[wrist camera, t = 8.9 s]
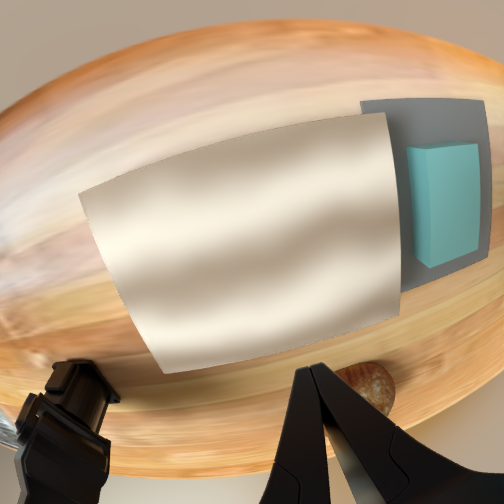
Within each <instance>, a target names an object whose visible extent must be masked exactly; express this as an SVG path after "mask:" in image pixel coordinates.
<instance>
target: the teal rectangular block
mask: <svg viewBox="0 0 504 504" xmlns="http://www.w3.org/2000/svg"><path fill="white" fill-rule="evenodd" d="M406 152H407V159H408V167H409V176H410V186H411V198H412V215H413V256H414V257H416V258H417V259H418V260H420V261H421V262H422V263H423V264H425V265H426V266H427V267H428V268H432V267H435V266H437V265H440V264H443V263H445V262H448V261H450V260H453V259H455V258H458V257H460V256H463V255H465V254H468V253H470V252H472V251H475V250H477V249H478V242H479V228H480V166H479V152H478V144H475V143H469V142H461V141H453V142H442V143H433V144H424V145H416V146H409V147H406Z"/></svg>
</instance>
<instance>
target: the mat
mask: <svg viewBox="0 0 504 504" xmlns="http://www.w3.org/2000/svg"><path fill="white" fill-rule="evenodd" d="M360 105H361V109H362V113H363V114H371V113H381V112H385V115H386V120H387V125H388V130H389V136H390V142H391V148H392V154H393V161H394V168H395V176H396V185H397V195H398V207H399V221H400V244H401V287H400V293H402V292H405V291H407V290H410V289H413V288H415V287H418V286H421V285H423V284H426V283H428V282H431V281H434V280H436V279H439V278H441V277H443V276H446V275H448V274H451V273H453V272H455V271H458V270H460V269H462V268H465V267H467V266H469V265H472V264H474V263H476V262H478V261H480V260H483V259H485V258H487V257H488V250H489V240H490V229H491V211H492V172H491V154H490V143H489V134H488V126H487V119H486V112H485V107H484V101H481V100H469V99H449V98H404V99H384V100H370V101H360ZM453 141H461V142H469V143H475V144H478V152H479V166H480V228H479V242H478V249H477V250H475V251H472V252H470V253H468V254H465V255H463V256H460V257H458V258H455V259H453V260H450V261H448V262H445V263H443V264H440V265H437V266H435V267H432V268H428V267H427V266H426V265H425V264H423V263H422V262H421V261H420V260H418V259H417V258H416V257H414V256H413V215H412V198H411V186H410V176H409V167H408V159H407V152H406V147H409V146H416V145H424V144H433V143H442V142H453Z"/></svg>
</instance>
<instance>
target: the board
mask: <svg viewBox="0 0 504 504" xmlns="http://www.w3.org/2000/svg"><path fill="white" fill-rule="evenodd" d="M78 195H79V198H80V201H81V204H82V207H83V210H84V213H85V215H86V218H87V221H88V224H89V226H90V229H91V231H92V234H93V236H94V239H95V241H96V244H97V246H98V249H99V251H100V254H101V256H102V258H103V260H104V263H105V265H106V267H107V269H108V272H109V274H110V276H111V278H112V280H113V282H114V285H115V287H116V289H117V291H118V293H119V295H120V297H121V299H122V301H123V303H124V305H125V307H126V309H127V311H128V313H129V314H130V316H131V318H132V320H133V322H134V324H135V326H136V327H137V329H138V331H139V333H140V335H141V336H142V338H143V340H144V342H145V343H146V345H147V347H148V348H149V350H150V352H151V353H152V355H153V357H154V358H155V360H156V362H157V363H158V365H159V366H160V368H161V370H162V371H163V373H164V374H168V373H175V372H182V371H189V370H196V369H202V368H208V367H213V366H219V365H224V364H229V363H235V362H239V361H244V360H249V359H254V358H258V357H263V356H267V355H271V354H275V353H279V352H284V351H288V350H291V349H295V348H299V347H303V346H306V345H310V344H314V343H317V342H321V341H324V340H328V339H331V338H334V337H337V336H341V335H344V334H347V333H350V332H353V331H356V330H359V329H362V328H365V327H368V326H371V325H374V324H377V323H380V322H382V321H385V320H388V319H391V318H393V317H396V316H399V310H400V287H401V244H400V221H399V207H398V195H397V185H396V176H395V168H394V161H393V154H392V148H391V142H390V136H389V130H388V125H387V120H386V115H385V112H381V113H371V114H362V115H353V116H345V117H338V118H331V119H325V120H319V121H313V122H307V123H301V124H296V125H291V126H286V127H281V128H276V129H271V130H267V131H262V132H258V133H254V134H250V135H246V136H242V137H238V138H234V139H230V140H226V141H222V142H219V143H215V144H212V145H208V146H205V147H201V148H198V149H195V150H192V151H188V152H185V153H182V154H179V155H176V156H173V157H170V158H167V159H164V160H161V161H158V162H155V163H153V164H150V165H147V166H144V167H142V168H139V169H136V170H134V171H131V172H128V173H126V174H123V175H121V176H118V177H116V178H113V179H111V180H109V181H106V182H104V183H102V184H99V185H97V186H95V187H92V188H90V189H88V190H86V191H83V192H81V193H79V194H78Z"/></svg>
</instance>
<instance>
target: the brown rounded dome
mask: <svg viewBox="0 0 504 504" xmlns="http://www.w3.org/2000/svg"><path fill="white" fill-rule="evenodd" d="M334 373H335V374H337V375H338V376H339V377H340V378H341V379H342V380H344V381H345V382H346V383H347V384H348V385H349V386H351V387H352V388H353V389H354V390H355V391H356V392H358V393H359V394H360V395H361V396H362V397H363V398H365V399H366V400H367V401H368V402H369V403H371V404H372V405H373V406H374V407H375V408H377V409H378V410H379V411H380V412H381V413H383V414H384V415H385V416H386V417H387V416H388V414H389V412H390V411H391V409H392V406H393V403H394V400H395V386H394V382H393V379H392V377H391V376H390V374H389V373H388V372H387V370H385V369H384V368H383V367H381V366H379V365H376V364H372V363H358V364H355V365H352V366H349V367H347V368H343V369H340V370H338V371H335V372H334ZM323 426H324V425H323ZM324 435H325V436H327V433H326V431H325V428H324ZM327 437H328V436H327Z"/></svg>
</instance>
